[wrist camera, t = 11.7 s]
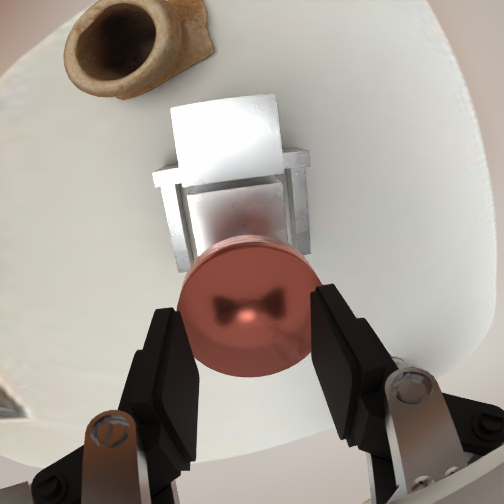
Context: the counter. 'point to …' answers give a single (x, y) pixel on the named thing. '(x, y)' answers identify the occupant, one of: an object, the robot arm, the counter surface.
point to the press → (230, 160)
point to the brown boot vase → (135, 45)
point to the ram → (245, 281)
